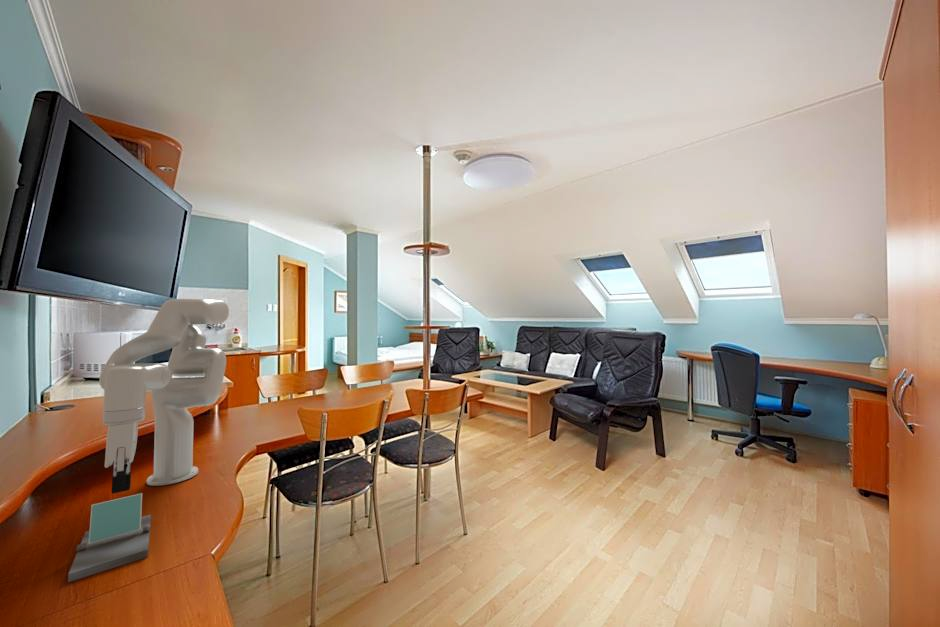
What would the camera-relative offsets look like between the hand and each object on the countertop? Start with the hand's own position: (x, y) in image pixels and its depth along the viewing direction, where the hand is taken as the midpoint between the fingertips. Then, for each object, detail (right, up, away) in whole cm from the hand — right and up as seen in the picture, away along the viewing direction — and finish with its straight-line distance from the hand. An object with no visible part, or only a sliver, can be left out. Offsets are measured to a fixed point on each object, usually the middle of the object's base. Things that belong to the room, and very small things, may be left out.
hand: (121, 490), depth 87 cm
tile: (+8, -1, -9) cm, 12 cm away
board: (+9, -7, -11) cm, 16 cm away
